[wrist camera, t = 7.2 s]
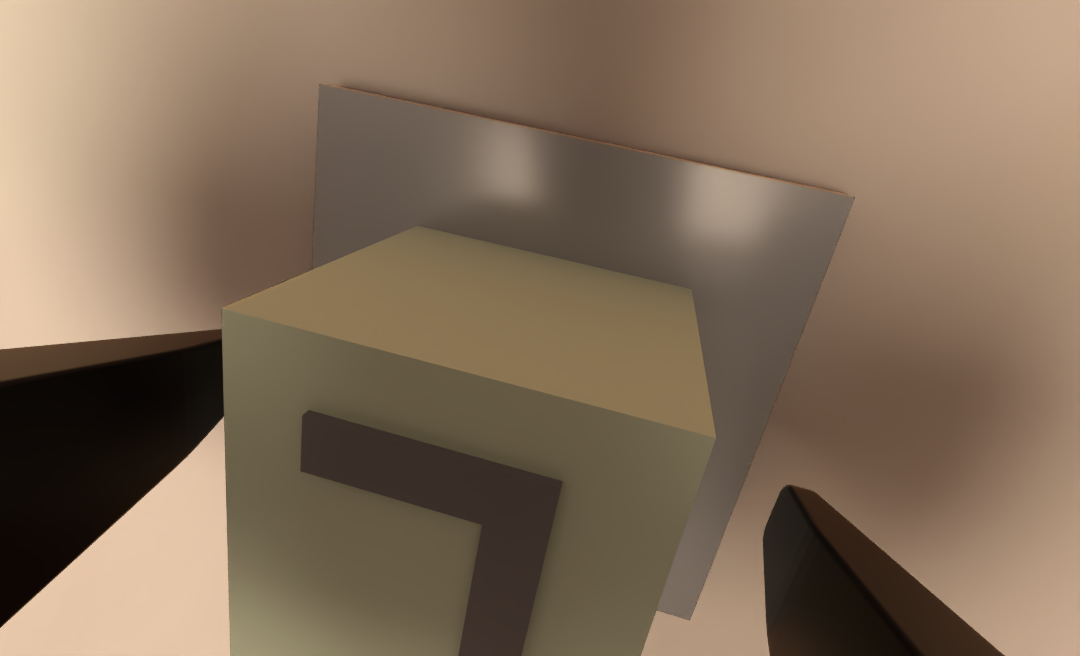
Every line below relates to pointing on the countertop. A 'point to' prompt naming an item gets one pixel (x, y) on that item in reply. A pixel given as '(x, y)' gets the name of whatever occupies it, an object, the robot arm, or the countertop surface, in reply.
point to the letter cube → (458, 453)
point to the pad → (601, 248)
